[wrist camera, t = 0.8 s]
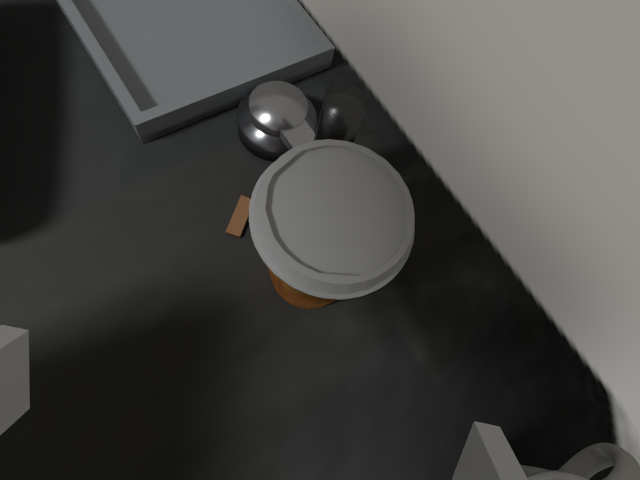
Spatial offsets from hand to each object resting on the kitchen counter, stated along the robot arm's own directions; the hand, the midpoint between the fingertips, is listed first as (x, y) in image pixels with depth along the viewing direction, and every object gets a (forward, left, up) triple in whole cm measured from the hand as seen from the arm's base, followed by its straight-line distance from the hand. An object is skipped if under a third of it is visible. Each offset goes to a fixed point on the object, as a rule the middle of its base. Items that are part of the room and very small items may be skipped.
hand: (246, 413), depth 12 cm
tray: (-33, +13, -18) cm, 39 cm away
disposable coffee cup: (-6, +9, -18) cm, 21 cm away
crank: (-16, +14, -15) cm, 26 cm away
